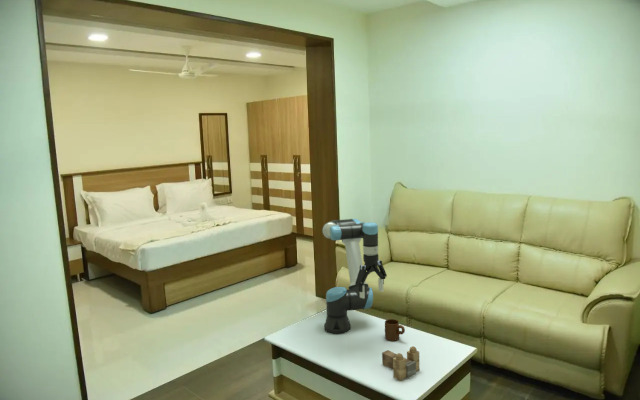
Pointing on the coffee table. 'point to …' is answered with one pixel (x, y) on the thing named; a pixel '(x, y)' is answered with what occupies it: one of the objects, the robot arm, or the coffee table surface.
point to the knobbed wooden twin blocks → (406, 370)
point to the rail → (390, 359)
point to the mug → (393, 329)
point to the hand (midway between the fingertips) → (371, 294)
